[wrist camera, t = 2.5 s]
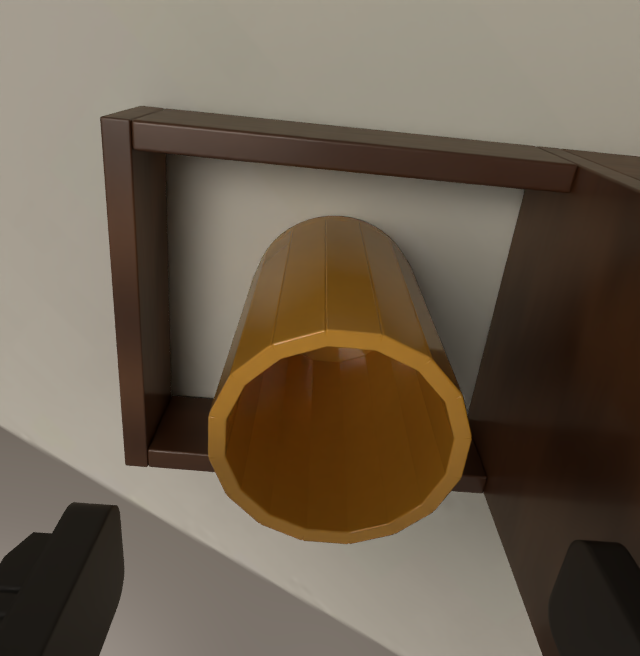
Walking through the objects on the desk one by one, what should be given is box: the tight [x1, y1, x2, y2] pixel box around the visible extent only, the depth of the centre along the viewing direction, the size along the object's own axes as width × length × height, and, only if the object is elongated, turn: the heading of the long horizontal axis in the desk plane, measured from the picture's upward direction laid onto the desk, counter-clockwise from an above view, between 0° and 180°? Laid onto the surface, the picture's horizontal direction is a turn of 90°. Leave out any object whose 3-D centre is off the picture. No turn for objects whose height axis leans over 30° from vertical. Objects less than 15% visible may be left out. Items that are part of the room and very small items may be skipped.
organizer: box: [100, 106, 640, 656], centre depth 15 cm, size 12×23×13 cm, turn 85°
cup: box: [208, 216, 472, 544], centre depth 16 cm, size 6×6×9 cm
